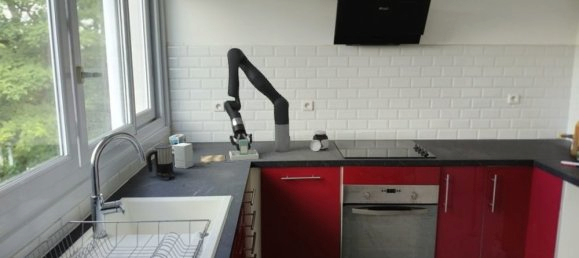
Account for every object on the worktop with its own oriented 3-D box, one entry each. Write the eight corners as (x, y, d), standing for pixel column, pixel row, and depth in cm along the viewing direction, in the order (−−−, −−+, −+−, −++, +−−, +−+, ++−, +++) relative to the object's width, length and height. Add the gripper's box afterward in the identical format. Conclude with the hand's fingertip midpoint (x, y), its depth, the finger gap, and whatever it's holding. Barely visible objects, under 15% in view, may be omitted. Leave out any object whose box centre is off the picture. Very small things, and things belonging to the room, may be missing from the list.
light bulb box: (179, 154, 264) (178, 137, 262) (169, 153, 265) (168, 136, 263) (187, 150, 274) (186, 134, 272) (177, 150, 276) (176, 133, 274)
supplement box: (194, 165, 235) (192, 143, 233) (185, 168, 228) (184, 146, 226) (183, 164, 238) (182, 142, 236) (174, 167, 231) (173, 145, 229)
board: (224, 156, 255) (224, 154, 255) (225, 161, 242) (225, 160, 241) (200, 157, 252) (200, 156, 252) (200, 163, 239) (200, 161, 239)
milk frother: (165, 170, 226) (163, 143, 223) (187, 174, 218) (185, 146, 215) (144, 177, 214) (142, 148, 211) (166, 181, 206) (164, 152, 203)
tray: (255, 154, 259) (255, 149, 258) (258, 159, 245) (258, 154, 245) (229, 156, 256) (229, 151, 255) (231, 161, 242) (230, 156, 242)
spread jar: (327, 147, 274) (327, 130, 272) (329, 151, 263) (329, 133, 261) (309, 148, 274) (309, 130, 272) (310, 152, 262) (310, 133, 260)
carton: (247, 155, 253) (246, 139, 252) (248, 157, 248) (247, 140, 247) (239, 156, 252) (238, 139, 251) (240, 158, 247) (239, 141, 246)
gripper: (227, 124, 251) (233, 147, 243) (250, 122, 257) (257, 145, 248) (225, 131, 257) (231, 154, 248) (248, 129, 262) (254, 152, 254)
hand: (244, 149), depth 248 cm, fingers closed on carton, 5 cm apart
